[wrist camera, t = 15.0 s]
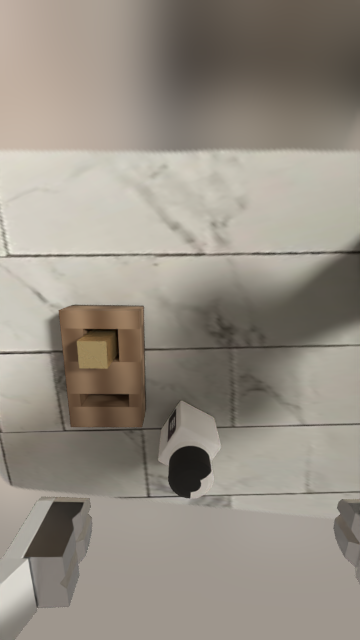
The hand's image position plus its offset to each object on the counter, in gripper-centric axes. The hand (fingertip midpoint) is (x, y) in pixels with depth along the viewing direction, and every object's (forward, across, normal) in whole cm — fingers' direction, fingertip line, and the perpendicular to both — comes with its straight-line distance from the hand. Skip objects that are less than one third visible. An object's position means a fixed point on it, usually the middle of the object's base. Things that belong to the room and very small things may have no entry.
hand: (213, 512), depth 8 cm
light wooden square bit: (+33, +13, +4) cm, 35 cm away
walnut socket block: (+34, +13, +9) cm, 37 cm away
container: (+34, -1, +22) cm, 40 cm away
